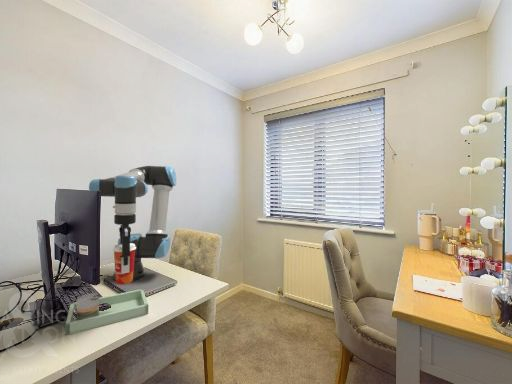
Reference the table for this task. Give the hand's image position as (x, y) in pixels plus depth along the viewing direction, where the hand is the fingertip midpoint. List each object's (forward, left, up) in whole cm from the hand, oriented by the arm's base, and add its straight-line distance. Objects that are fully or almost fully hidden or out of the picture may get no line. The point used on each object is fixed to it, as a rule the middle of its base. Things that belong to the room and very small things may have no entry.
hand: (124, 268), depth 94 cm
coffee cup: (0, 0, -5) cm, 5 cm away
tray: (0, -5, -18) cm, 19 cm away
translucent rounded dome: (0, -12, -17) cm, 21 cm away
